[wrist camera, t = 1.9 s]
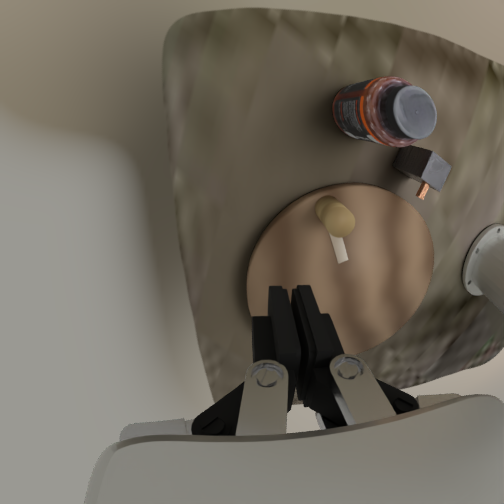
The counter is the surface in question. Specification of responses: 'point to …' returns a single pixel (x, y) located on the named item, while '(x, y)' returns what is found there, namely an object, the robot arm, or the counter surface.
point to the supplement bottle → (385, 111)
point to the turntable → (347, 260)
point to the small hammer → (422, 168)
